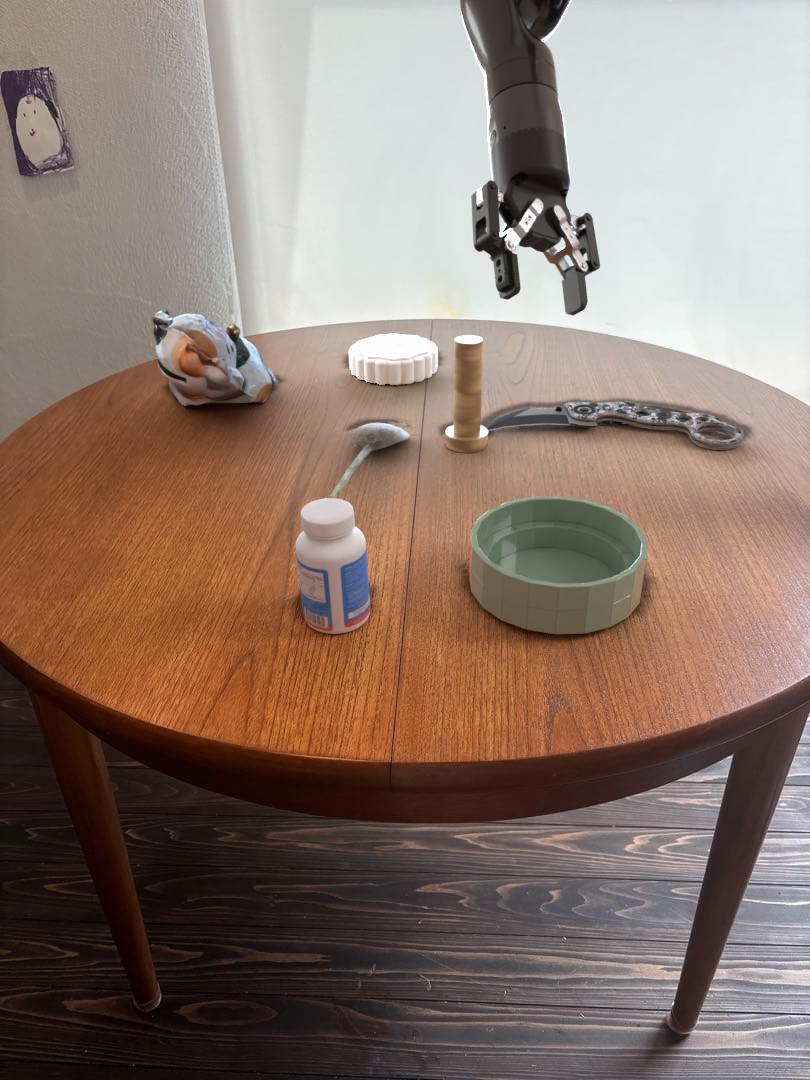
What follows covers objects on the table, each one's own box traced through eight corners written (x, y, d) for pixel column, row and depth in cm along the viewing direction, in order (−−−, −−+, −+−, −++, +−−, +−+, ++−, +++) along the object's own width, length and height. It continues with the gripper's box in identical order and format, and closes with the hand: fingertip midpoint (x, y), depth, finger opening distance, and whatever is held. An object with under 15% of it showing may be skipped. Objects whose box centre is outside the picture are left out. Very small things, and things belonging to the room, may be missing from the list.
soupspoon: (418, 441, 99) (364, 437, 101) (417, 413, 98) (362, 410, 100) (350, 528, 81) (286, 522, 83) (347, 496, 80) (282, 490, 81)
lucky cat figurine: (296, 396, 110) (265, 317, 98) (220, 452, 107) (178, 377, 95) (232, 337, 117) (195, 256, 105) (159, 388, 114) (113, 311, 102)
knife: (483, 426, 98) (495, 389, 106) (483, 438, 99) (495, 401, 107) (747, 448, 92) (739, 407, 100) (744, 461, 93) (736, 419, 101)
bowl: (618, 543, 78) (624, 494, 76) (659, 638, 66) (668, 584, 64) (463, 547, 78) (464, 498, 76) (477, 643, 66) (479, 589, 64)
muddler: (485, 434, 99) (489, 331, 93) (490, 452, 95) (493, 346, 89) (444, 435, 99) (444, 332, 93) (446, 453, 95) (447, 347, 89)
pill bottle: (366, 593, 72) (360, 489, 67) (375, 631, 68) (369, 524, 63) (300, 600, 72) (289, 496, 67) (305, 640, 67) (294, 531, 62)
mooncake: (441, 384, 113) (441, 358, 111) (348, 387, 112) (347, 361, 110) (435, 354, 123) (435, 329, 121) (350, 356, 123) (349, 331, 121)
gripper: (496, 104, 78) (514, 273, 75) (606, 148, 86) (625, 302, 83) (446, 149, 84) (461, 306, 81) (553, 186, 92) (570, 330, 90)
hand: (544, 304), depth 82 cm, fingers open, 8 cm apart
